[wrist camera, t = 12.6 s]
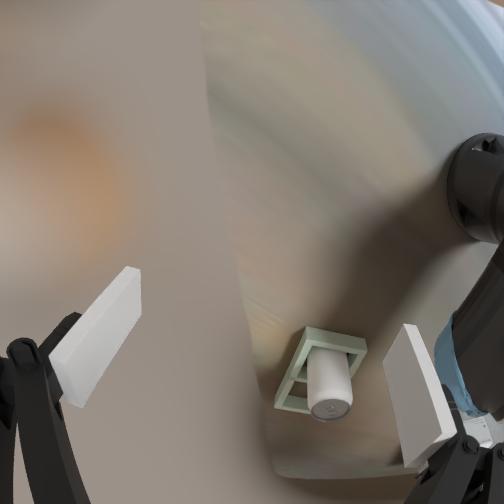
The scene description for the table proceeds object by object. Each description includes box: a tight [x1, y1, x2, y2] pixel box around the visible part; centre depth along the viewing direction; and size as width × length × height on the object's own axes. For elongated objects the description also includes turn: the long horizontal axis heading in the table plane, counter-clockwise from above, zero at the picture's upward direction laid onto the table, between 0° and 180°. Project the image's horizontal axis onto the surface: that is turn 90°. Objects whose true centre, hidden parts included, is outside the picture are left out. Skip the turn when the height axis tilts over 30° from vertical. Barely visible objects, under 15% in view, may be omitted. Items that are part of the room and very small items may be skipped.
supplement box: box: [418, 416, 493, 477], centre depth 54 cm, size 17×13×9 cm
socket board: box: [274, 326, 368, 414], centre depth 49 cm, size 10×18×3 cm, turn 167°
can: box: [307, 346, 353, 422], centre depth 43 cm, size 6×6×12 cm
